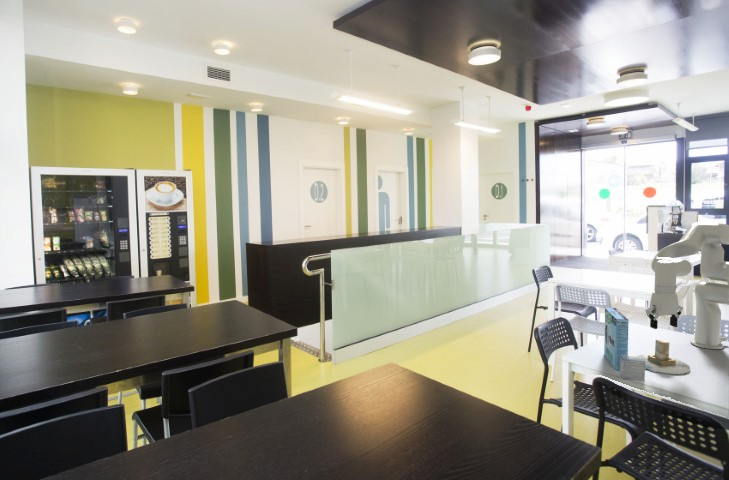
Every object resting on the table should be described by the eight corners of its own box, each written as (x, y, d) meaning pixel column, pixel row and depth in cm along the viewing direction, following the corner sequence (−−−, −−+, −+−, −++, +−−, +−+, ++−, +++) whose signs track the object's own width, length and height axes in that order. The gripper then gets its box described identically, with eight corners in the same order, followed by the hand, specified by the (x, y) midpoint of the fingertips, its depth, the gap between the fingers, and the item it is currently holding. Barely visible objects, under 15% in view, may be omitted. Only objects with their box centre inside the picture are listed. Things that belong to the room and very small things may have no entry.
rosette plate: (662, 355, 194) (662, 347, 194) (702, 372, 174) (702, 364, 174) (623, 358, 191) (624, 351, 191) (660, 376, 172) (660, 368, 171)
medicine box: (641, 377, 172) (642, 356, 171) (644, 381, 168) (645, 361, 167) (619, 374, 174) (620, 355, 174) (622, 379, 170) (623, 359, 169)
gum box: (627, 371, 178) (629, 319, 175) (614, 370, 179) (615, 318, 177) (615, 354, 196) (616, 307, 194) (603, 353, 198) (604, 307, 195)
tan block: (661, 361, 185) (663, 339, 184) (668, 364, 181) (669, 342, 180) (654, 361, 184) (655, 339, 183) (660, 364, 181) (661, 342, 180)
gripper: (675, 285, 184) (673, 323, 186) (640, 288, 182) (639, 326, 184) (690, 289, 177) (688, 328, 179) (654, 292, 175) (652, 331, 177)
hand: (663, 327), depth 181 cm, fingers open, 9 cm apart
